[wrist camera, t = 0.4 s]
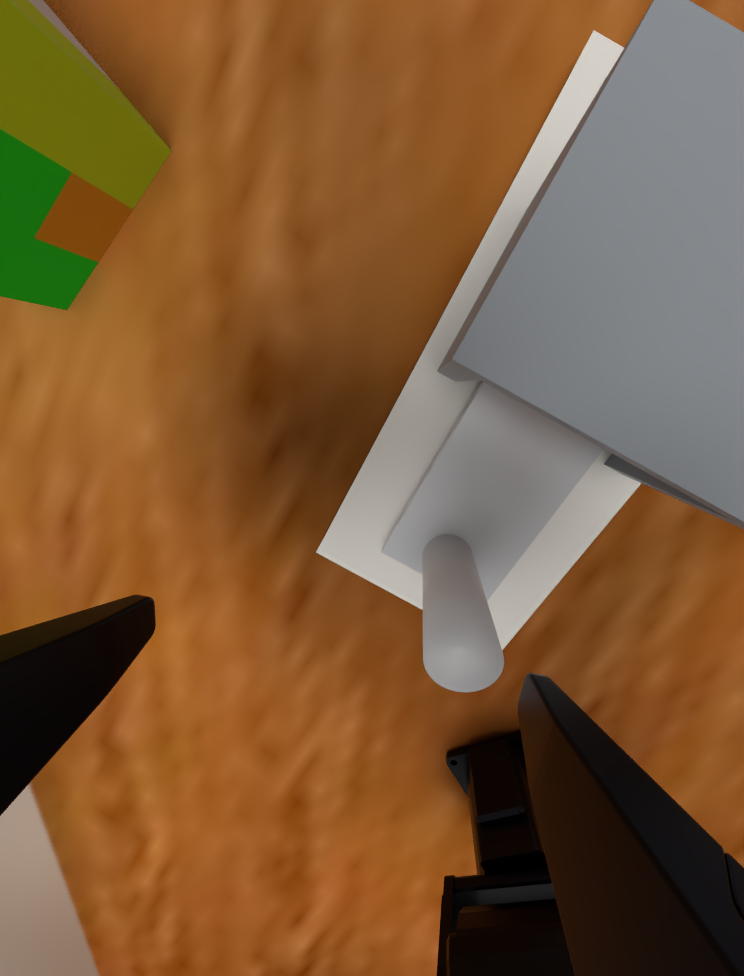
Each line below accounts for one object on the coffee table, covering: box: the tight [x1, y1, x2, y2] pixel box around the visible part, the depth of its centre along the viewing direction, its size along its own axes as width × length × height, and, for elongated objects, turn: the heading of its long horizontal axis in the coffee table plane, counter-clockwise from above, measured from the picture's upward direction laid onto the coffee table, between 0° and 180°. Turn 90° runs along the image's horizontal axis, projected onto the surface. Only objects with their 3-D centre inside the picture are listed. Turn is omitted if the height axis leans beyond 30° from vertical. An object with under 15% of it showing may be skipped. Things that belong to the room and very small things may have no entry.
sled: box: [381, 381, 603, 692], centre depth 13 cm, size 16×6×8 cm, turn 153°
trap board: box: [316, 31, 641, 650], centre depth 17 cm, size 24×12×2 cm, turn 153°
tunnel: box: [437, 0, 744, 529], centre depth 11 cm, size 7×10×8 cm
